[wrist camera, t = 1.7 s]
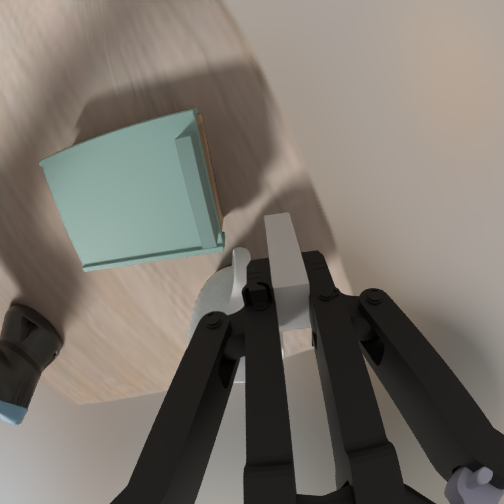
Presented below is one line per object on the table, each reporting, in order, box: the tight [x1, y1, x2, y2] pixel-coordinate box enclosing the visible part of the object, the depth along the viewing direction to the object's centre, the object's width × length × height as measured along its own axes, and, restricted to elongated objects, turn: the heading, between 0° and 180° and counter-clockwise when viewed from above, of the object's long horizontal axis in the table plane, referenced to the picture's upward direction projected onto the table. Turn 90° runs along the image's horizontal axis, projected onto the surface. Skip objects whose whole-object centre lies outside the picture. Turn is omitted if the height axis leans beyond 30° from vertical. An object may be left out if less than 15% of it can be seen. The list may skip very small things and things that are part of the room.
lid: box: [38, 107, 225, 272], centre depth 28 cm, size 18×15×5 cm
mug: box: [187, 247, 284, 383], centre depth 35 cm, size 15×11×13 cm
